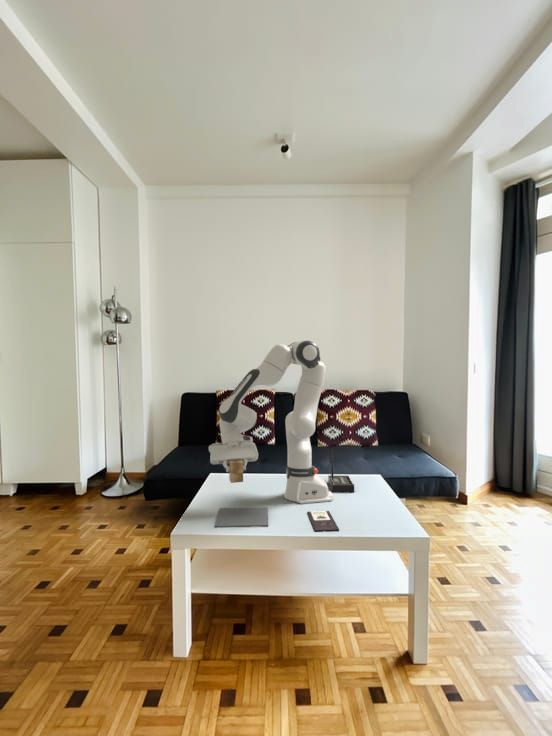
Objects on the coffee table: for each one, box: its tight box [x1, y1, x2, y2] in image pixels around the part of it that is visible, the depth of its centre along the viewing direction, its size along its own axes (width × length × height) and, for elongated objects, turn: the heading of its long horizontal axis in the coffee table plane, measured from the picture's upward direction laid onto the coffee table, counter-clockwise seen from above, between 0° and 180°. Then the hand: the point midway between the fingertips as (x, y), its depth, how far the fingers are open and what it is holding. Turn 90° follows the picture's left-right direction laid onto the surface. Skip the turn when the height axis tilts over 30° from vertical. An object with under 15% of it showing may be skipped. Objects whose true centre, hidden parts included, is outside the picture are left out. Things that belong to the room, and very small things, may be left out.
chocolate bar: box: [306, 510, 340, 533], centre depth 149 cm, size 9×1×18 cm
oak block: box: [228, 460, 244, 484], centre depth 159 cm, size 5×4×8 cm
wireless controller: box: [327, 448, 355, 493], centre depth 193 cm, size 20×14×17 cm
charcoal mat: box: [214, 506, 269, 528], centre depth 153 cm, size 20×18×1 cm
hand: (236, 470), depth 158 cm, fingers closed on oak block, 5 cm apart
